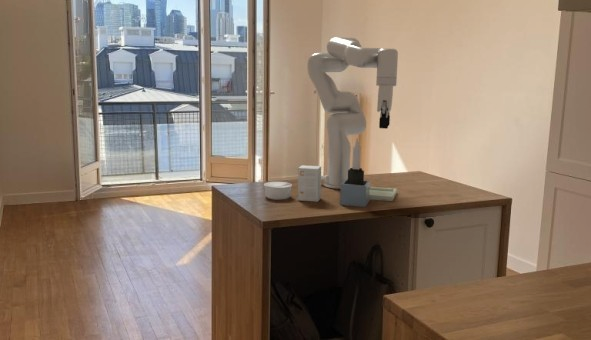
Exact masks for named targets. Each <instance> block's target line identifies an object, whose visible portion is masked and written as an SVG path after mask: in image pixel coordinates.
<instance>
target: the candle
mask: <svg viewBox="0 0 591 340" xmlns="http://www.w3.org/2000/svg"><path fill="white" fill-rule="evenodd" d="M361 151H362V149H361V145H360V143H359V138H355V143H354V145H353V147H352V160H351V161H352V162H351V163H352V164H351V167H350V169H349V170H348V184H352V185H364V181H365V170H363V168H361V153H362V152H361Z"/></svg>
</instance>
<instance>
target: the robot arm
mask: <svg viewBox="0 0 591 340" xmlns="http://www.w3.org/2000/svg"><path fill="white" fill-rule="evenodd" d="M326 50H327V52H325V51H324V52H316V53H313V54H311V55H310V56H309V57H308V60H307V74H308V76H309V79H310V80H311V82H312V85H314V87H315V89H316V92H317V95H318V97H319V100H320V103H321V105H322V108H323V110H324V112H325V113H327V114H330V115H329V116H328V118H327V120H326V130H327V138H328V139H327V140H328V148H327V149H328V151H327V152H328V153H327V155H328V156H327V157H328V158H327V161H328V162H327V174H326V175H321V182H323V181H324V183H323V186H324V187H326V188H329V189H335V190H336V189H337V190H338V189H340V190H341V183H342V182H343V181H344V180H345V179H348V170H349V169H350V168H351V155H352V154H351V153H352V152H351V151H352V149H351V148H352V147H351V142H350V140H349V138H348V137H347V136H351V135H352V136H353V135H354V136H355V135H361V134H363V133H364V132H365V131H366V129H367V120H366V115H364V111H363V110H362V107H361V104H360V102H359V99H358V97H357V96H356V94H355V93H353V92H351V91H340V90H338V88H337V85H336V83H335V81H334V79H333V78H332V77H331V76H330V75H328V74H327V73H341V72H342V73H343V71H345V70H346V69H348V68H349V66H353V67H356V68H362V69H363V68H365V69H366V68H368V69H369V68H370V69H372V68H373V69H376V86H378V91H377V105H376V106H377V108H376V111H377V113H379V112H380V115H379V122H378V123H379V126H378V127H379V129H388V128H389V126H390V123H391V122H390V121H391V116H390V112H391V110H392V105H393V96H394V95H393V94H394V87H396V86H397V82H398V81H397V79H398V78H397V77H398V57H399V52H398V50H397V49H395V48H381V47H378V48H377V47H362V45H361V42H360V41H359V40H358V39H356V38H355V37H346V36H344V37H343V36H336V37H335V36H334V37H333V38H331V39H329V40H328V41H327V44H326Z"/></svg>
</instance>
